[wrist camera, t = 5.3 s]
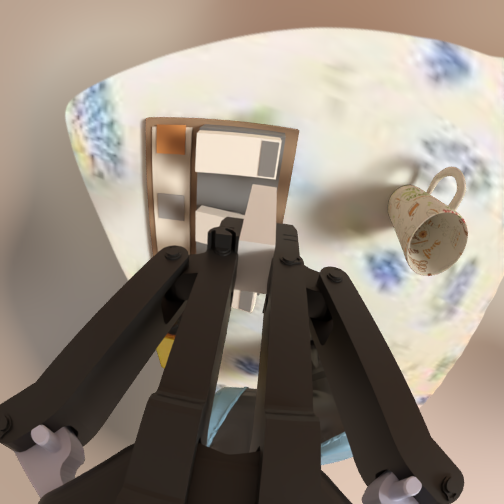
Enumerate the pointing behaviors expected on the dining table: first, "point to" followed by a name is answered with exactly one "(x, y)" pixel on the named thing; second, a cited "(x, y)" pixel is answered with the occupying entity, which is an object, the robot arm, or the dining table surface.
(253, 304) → the block
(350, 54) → the dining table surface
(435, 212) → the mug
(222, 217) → the rocker middle
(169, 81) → the dining table surface
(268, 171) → the block
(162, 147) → the switch board
